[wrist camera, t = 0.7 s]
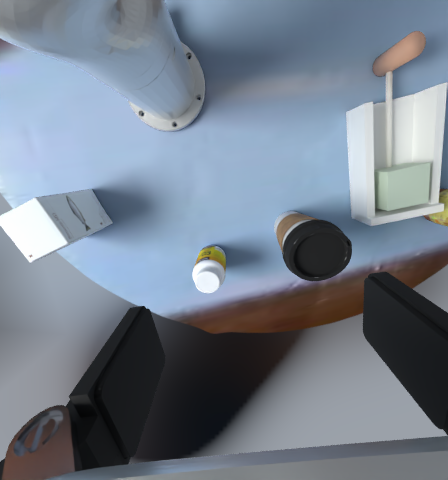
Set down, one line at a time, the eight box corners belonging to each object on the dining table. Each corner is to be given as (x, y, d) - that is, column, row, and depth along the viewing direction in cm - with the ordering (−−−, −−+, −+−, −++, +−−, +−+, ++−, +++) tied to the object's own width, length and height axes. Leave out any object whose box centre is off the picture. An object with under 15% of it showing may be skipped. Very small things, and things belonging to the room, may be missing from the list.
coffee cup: (318, 233, 42) (364, 268, 28) (279, 254, 44) (303, 296, 29) (300, 195, 40) (340, 211, 26) (259, 218, 41) (275, 245, 27)
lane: (346, 112, 36) (368, 101, 30) (417, 93, 35) (454, 79, 29) (351, 217, 41) (371, 226, 35) (413, 204, 40) (443, 211, 34)
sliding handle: (361, 60, 33) (389, 38, 27) (403, 49, 33) (440, 24, 27) (365, 204, 40) (388, 211, 34) (400, 197, 39) (429, 202, 34)
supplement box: (114, 223, 42) (69, 245, 30) (83, 237, 43) (28, 265, 31) (92, 187, 40) (35, 196, 28) (60, 203, 41) (-9, 218, 29)
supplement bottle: (212, 238, 43) (208, 259, 33) (231, 258, 44) (232, 284, 34) (192, 256, 44) (182, 281, 35) (211, 274, 45) (206, 304, 36)
